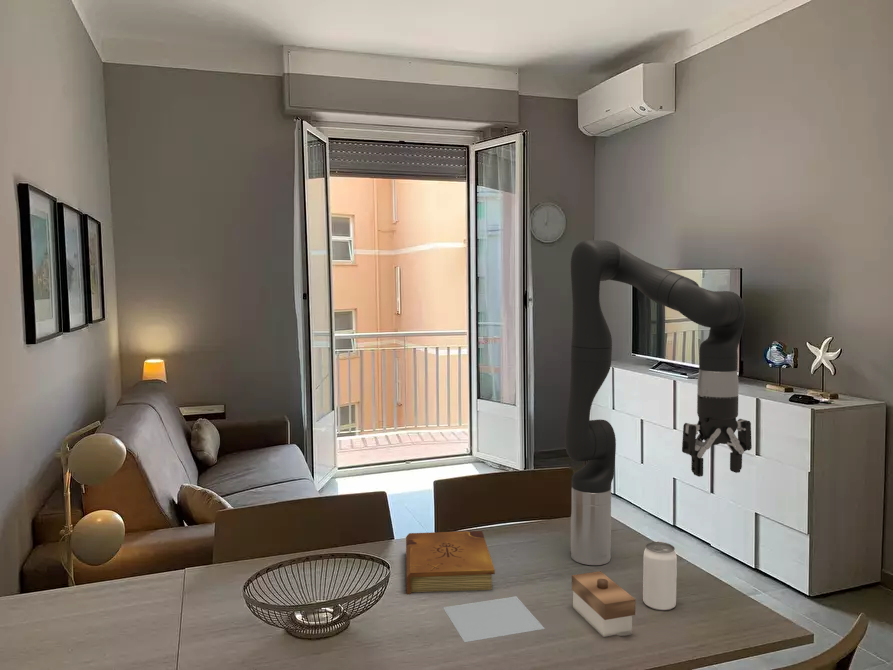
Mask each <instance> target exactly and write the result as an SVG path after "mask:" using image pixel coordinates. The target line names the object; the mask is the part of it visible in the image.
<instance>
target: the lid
mask: <svg viewBox="0 0 893 670" xmlns="http://www.w3.org/2000/svg"><path fill="white" fill-rule="evenodd" d="M571 590H572V592H573V591H574V592H575V593H576V594H577V595H578V596H579V597H580V598H581V599H582V600H584V601H585V602H586V603H587V604H588V605H589V606H590V607H591V608H592V609H593V610H594V611H595V612H597V613H598V614H599V615H600V616H601V617H602V618H603V619H604V620H608V619H614V618H620V617H626V616H632V617H633V616H636V603H637V602H636V601H637V600H636V598H635V597H633V596H632V595H631V594H629V592H627V591H626V590H624V589H623V588H622V587H621V586H620V585H618V584H617V583H616V582H615V581H613V580H612V579H611V578H610V577H608V576H607V575H606V574H605V573H603V571H600V570H599V571H594V572H593V571H591V572H586V573H578V574H572V575H571Z"/></svg>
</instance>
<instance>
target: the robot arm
mask: <svg viewBox="0 0 893 670" xmlns="http://www.w3.org/2000/svg"><path fill="white" fill-rule="evenodd" d="M570 276H571V277H570V280H571V281H570V282H571V296H572V297H571V298H572V324H571V325H572V326H571V327H572V328H571V329H572V332H571V342H570V343H571V344H570V345H571V346H570V348H571V349H570V376H569V377H570V379H569V381H570V382H569V383H570V384H569V395H568V396H569V397H568V406H567V412H566V418H565V419H566V420H565V425H564V426H565V427H564V448H565V450H566V455H568V457H569V459H571V460H572V461H573V462H586V461H587V462H586V464H585V465H584V466H583V467H581V468H580V469H578V470H577V471H575V472H574V473H573V475H572V476H571V514H570V553H571V555H570V557H571V559H572V560H573V561H575V562H577V563H578V564H583V565H589V566H602V565H606V564H608V563H610V562H611V559H612V558H611V554H612V553H611V552H612V551H611V550H612V549H611V547H612V546H611V543H612V541H611V540H612V532H611V531H612V483H613V480H614V477H615V468H616V467H615V466H616V465H615V464H616V451H617V450H616V449H617V446H616V445H617V442H616V441H617V440H616V433H615V430H614V428H613V426H612V424H611V423H610V421H608V420H605V419H592V420H591V419H590V415H591V409H592V405H593V402H594V400H595V398H596V395H597V394H598V392H599V390H600V389H601V387H602V385H603V384H604V383H605V381H606V379H607V376H608V375H609V373H610V370H611V366H612V352H613V338H612V334H611V330H610V328H609V325H608V322H607V321H606V319H605V316H604V314H603V311H602V307H601V301H600V292H601V291H600V288H601V287H600V286H601V282H605V281H615V282H620V283H624V284H627V285H630V286H632V287H634V288H636V289H637V290H639V291H640V292H641V293H642V294H643V295H644V296H645V297H646V298H648V299H649V300H651V301H653V302H656V303H657V304H659V305H662V306H664V307H667V308H669V309H671V310H674V311H677V312H679V314H681V315H683V317H685V318H687V319H689V320H690V321H692V322H693V323H694V324H698V325H699V326H702V327H705V328H710V329H709V333H708V337H707V338H706V339H704V340H703V341H702V342H701V343H700V346H699V350H698V351H699V352H698V354H699V356H698V357H699V359H698V362H699V363H698V375H697V394H696V395H697V396H696V397H697V399H696V401H697V402H696V403H697V405H696V408H697V409H696V413H697V414H696V415H697V416H698V417H697V418H698V421H697V423H690V422H689V423H688V422H685V423H683V427H682V442H681V443H682V444H681V452H682V453H684V454H686V455H689V456H690V457H691V467H690V468H691V472H692V473H693V475H694V476H697V477H703V476H704V458H703V457H704V455H705V453H706V451H708V450H709V449H710V448H711V447H712V445H713V446H718V445H720V444H721V445H727V447H728V448H729V449H730V451H731V452H730V454H729V470H730V471H731V472H732V473H735V474H737V473H741V470H742V468H743V454H744V452H746V451H751V450H752V447H753V445H752V423H751V421H750V420H746V419H744V418H743V419H742V418H738V420H737V417H738V416H739V387H740V386H739V384H740V382H739V374H738V360H739V359H738V358H739V357H738V348H739V344H740V342H741V338H742V334H743V330H744V324H745V320H746V307H745V305H744V301H743V299H742V298H741V296H740V295H739V294H737V293H736V292H734V291H730V290H723V291H722V290H721V291H719V290H717V291H715V290H714V291H713V290H711V289H710V290H709V289H706V288H704V287H701V286H700V285H699V284H698V282H697V281H694V279H691V278H688V277H686V276H684V275H681V274H678V273H676V272H673V271H671V270H667V269H665V268H663V267H660V266H657V265H654V264H652V263H649V262H648V261H645V260H644V259H642V258H640V257H638V256H636V255H634V254H633V253H631V252H629V251H627V249H624V248H623V247H622V246H620V245H618V244H616V243H615V242H612V241H609V240H596V239H595V240H594V239H593V240H592V239H591V240H589V239H587V240H581V241H580V242H578V243H577V244H576V246H575V247H574V249H573V251H572V253H571V258H570ZM736 430H737V436H736V434H735V433H736Z"/></svg>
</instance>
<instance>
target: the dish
mask: <svg viewBox="0 0 893 670" xmlns="http://www.w3.org/2000/svg"><path fill="white" fill-rule="evenodd" d="M572 595H573V596H572V608H573V609H574V610H575V611H576V612H577V613H578V615H580V616H581V617H582V618H583V619H584V620H585V621H586V622H587V623H589V625H590V626H592V627H593V628H594V630H595V631H597V632H598V634H599V635H600V636H601V637H603V638H606V637H611V636H619V637H624V636H625V637H626V636H630V635H631V636H632V635H633V615H632V616H626V617H620V618H614V619H608V620H604V619H603V618H602V617H601V616H600V615H599V614H598V613H597V612H595V611H594V610H593V609H592V608H591V607H590V606H589V605H588V604H587V603H586V602H585V601H584V600H582V599H581V598H580V597H579V596H578V595H577V594H576V593H575V592H574V591H573V590H572Z"/></svg>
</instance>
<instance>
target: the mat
mask: <svg viewBox="0 0 893 670" xmlns="http://www.w3.org/2000/svg"><path fill="white" fill-rule="evenodd" d="M442 609H443V610H444V612H445V613H446V615H447V616H448V619H449V620H450V621H451V624H452V625H453V626H454V628H455V630H456V631H457V633H458V634H459V636H460V637H461V640H462V641H463V642H464V643H469V642H475V641H481V640H486V639H493V638H498V637H503V636H504V637H505V636H511V635H517V634H522V633H528V632H533V631H534V632H535V631H540V630H545V629H546V628H545V627H544V626H543V625H542V623H541V622H540V621H539V620H538V619H537V618H536V616H534V615H533V613H531V611H530V610H529V609H528V607H526V605H525V604H524V603H523V602H522V600H520V599H519V598H518V596H517V595H516V596H515V595H514V596H510V597H504V598H496V599H490V600H483V601H476V602H470V603H462V604H456V605H450V606H443V607H442Z"/></svg>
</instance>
